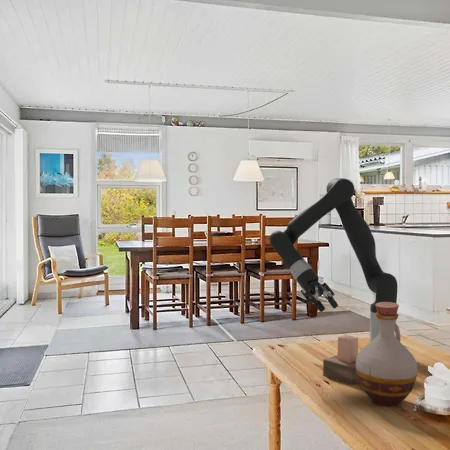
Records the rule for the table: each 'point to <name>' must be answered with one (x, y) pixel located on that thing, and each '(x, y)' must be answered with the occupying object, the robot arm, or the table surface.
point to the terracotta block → (347, 348)
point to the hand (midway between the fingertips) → (329, 308)
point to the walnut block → (340, 370)
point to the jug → (386, 361)
